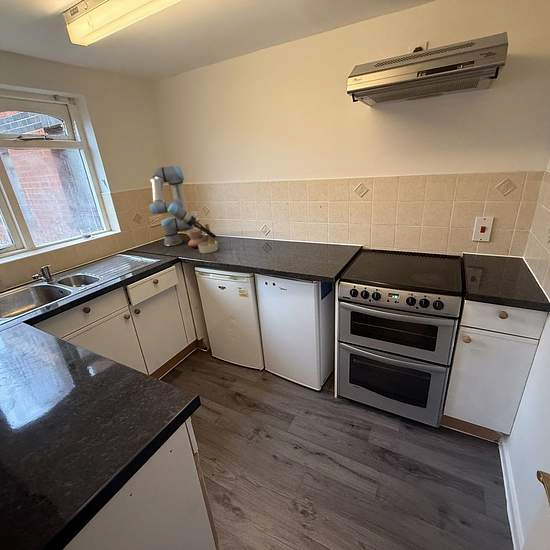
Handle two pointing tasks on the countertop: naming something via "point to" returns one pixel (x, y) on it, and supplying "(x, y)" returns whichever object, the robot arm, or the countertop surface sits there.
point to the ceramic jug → (195, 237)
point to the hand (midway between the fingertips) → (214, 236)
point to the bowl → (207, 247)
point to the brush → (210, 241)
